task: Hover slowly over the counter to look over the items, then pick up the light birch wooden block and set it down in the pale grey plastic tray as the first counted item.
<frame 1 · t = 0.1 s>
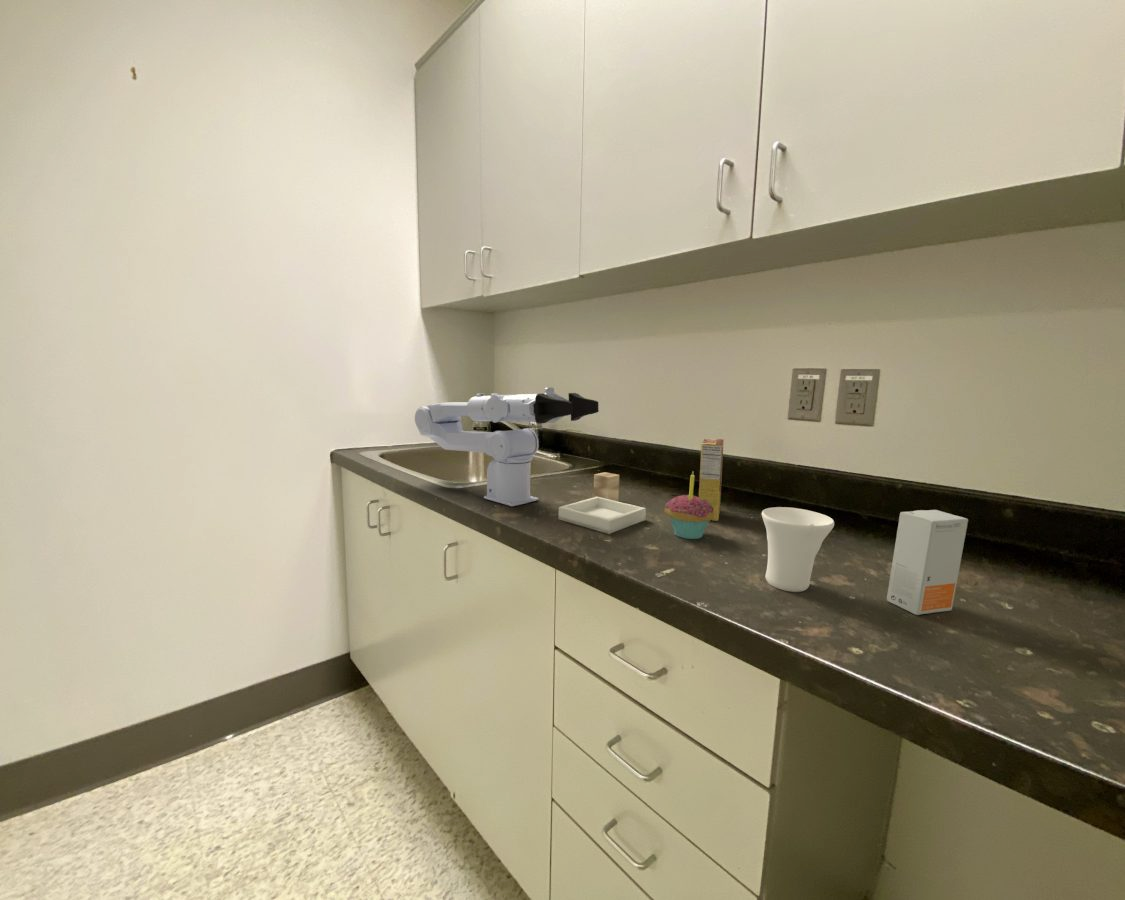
hand: (584, 407, 90), 22 cm above the worktop, tool horizontal, fingers open, 7 cm apart
cupcake: (687, 535, 86), on the worktop
candy box: (708, 515, 99), on the worktop
skincare box: (919, 607, 61), on the worktop
tray: (602, 519, 93), on the worktop
cup: (789, 585, 66), on the worktop
wooden block: (605, 501, 108), on the worktop
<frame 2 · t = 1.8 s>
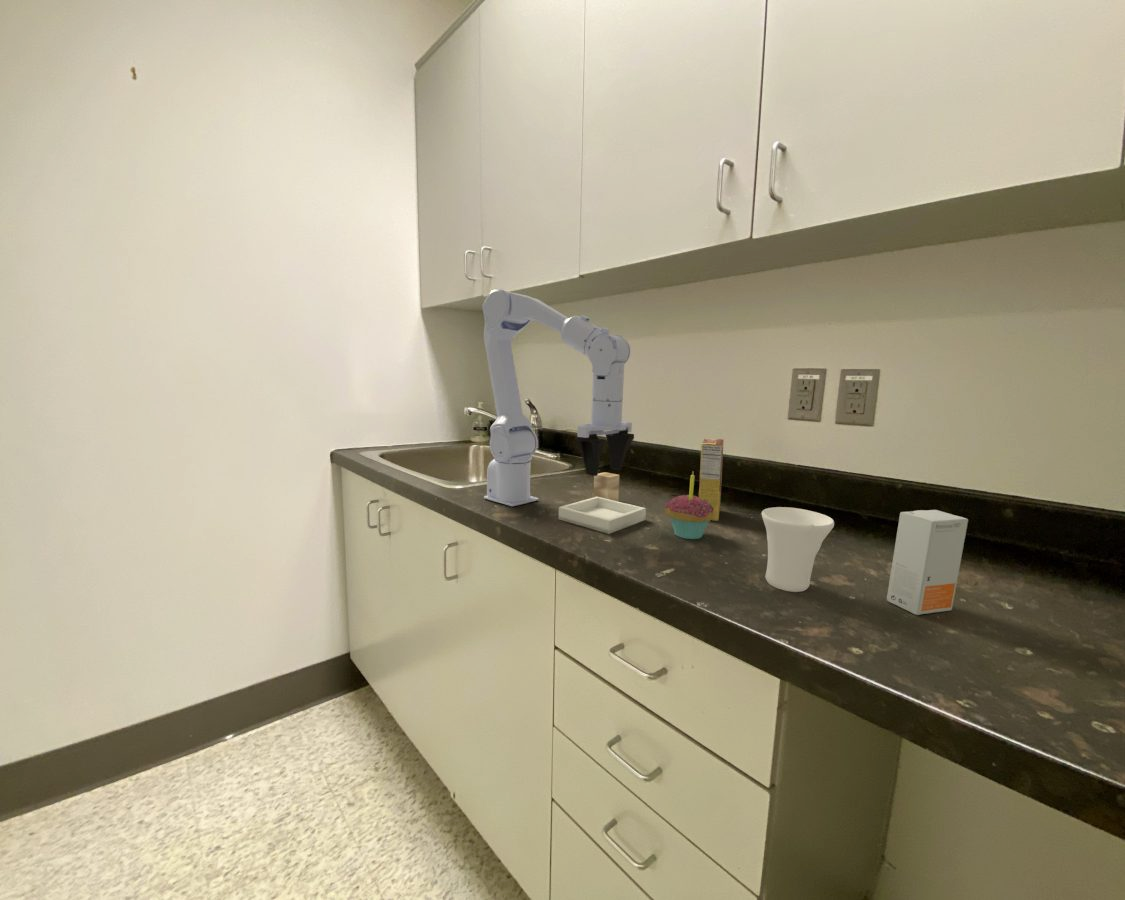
hand: (604, 472, 92), 9 cm above the worktop, tool pointing down, fingers open, 7 cm apart
nothing on the worktop moved.
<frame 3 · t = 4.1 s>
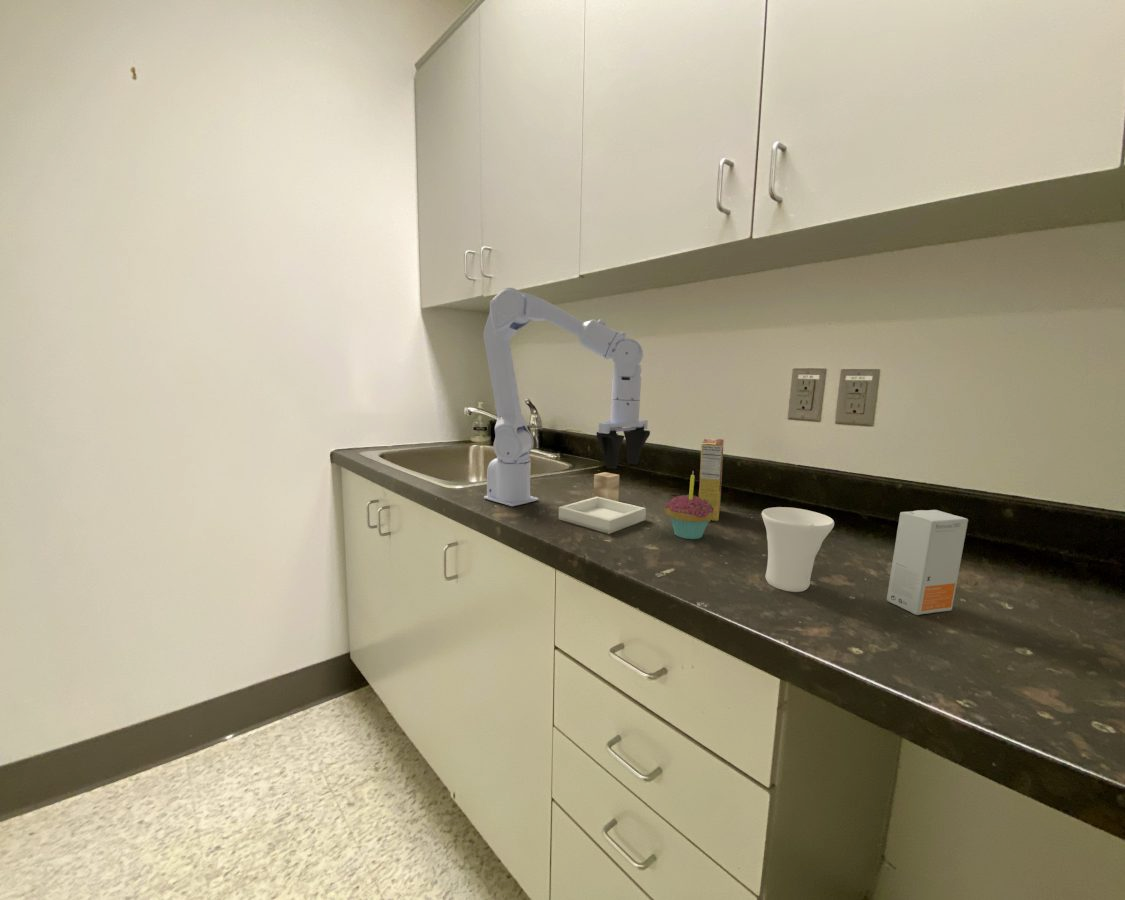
hand: (622, 465, 99), 9 cm above the worktop, tool pointing down, fingers open, 7 cm apart
nothing on the worktop moved.
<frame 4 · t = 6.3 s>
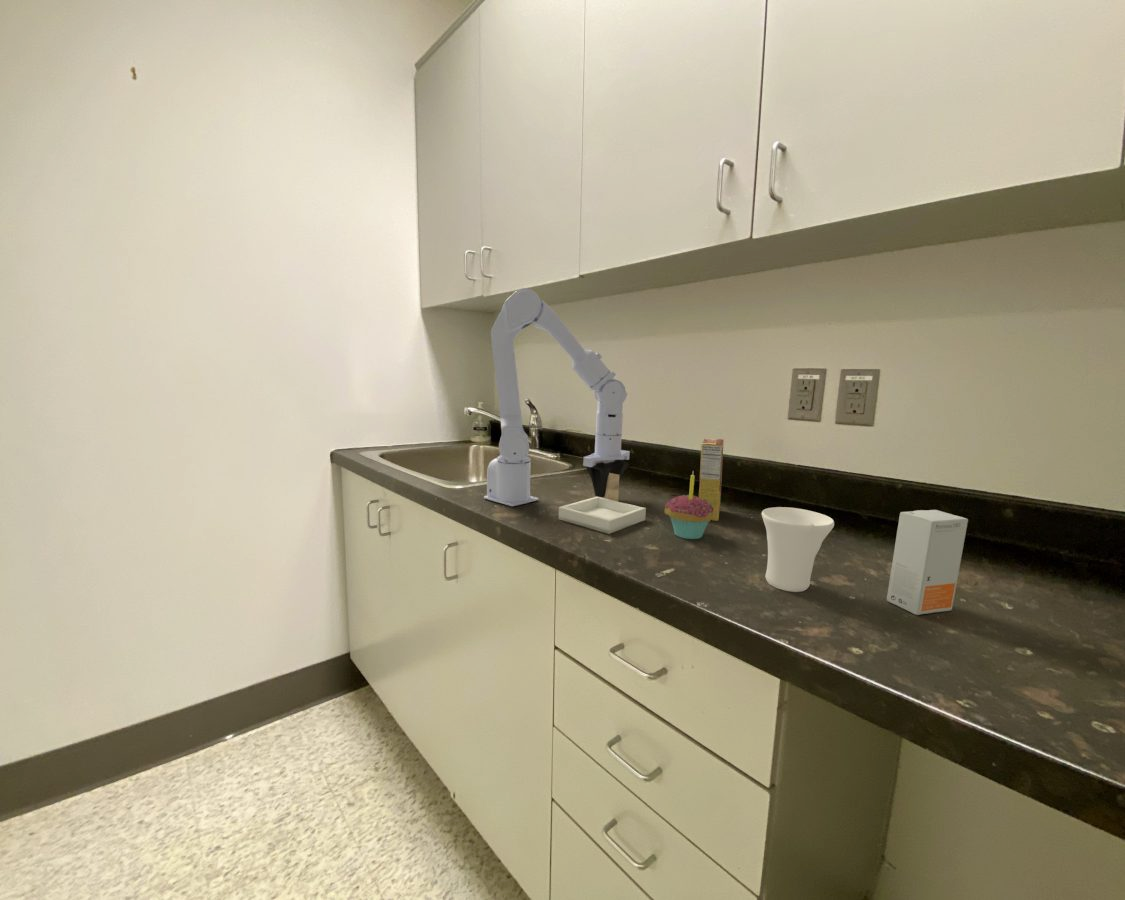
hand: (605, 494, 107), 1 cm above the worktop, tool pointing down, fingers closed on wooden block, 4 cm apart
wooden block: (605, 500, 108), on the worktop, touching gripper
everything else where it was.
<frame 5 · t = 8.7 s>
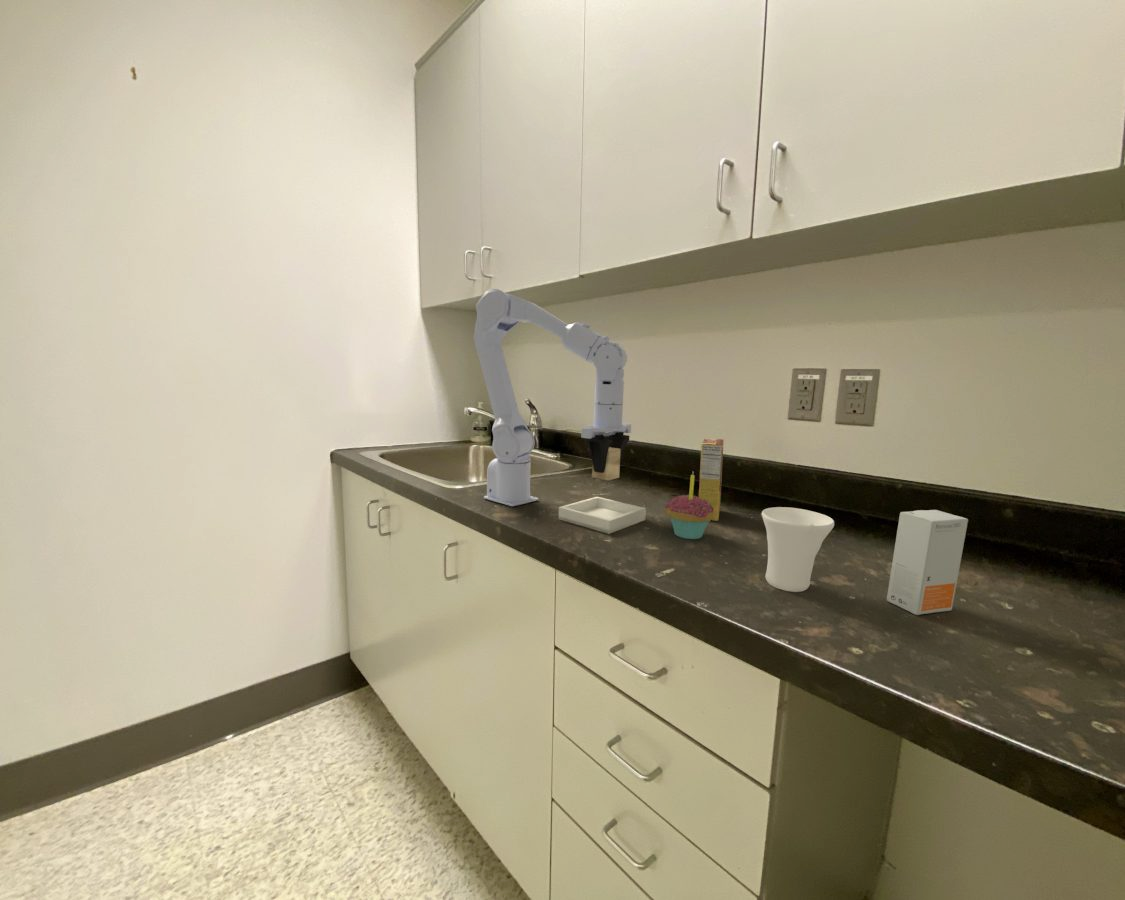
hand: (605, 470, 99), 8 cm above the worktop, tool pointing down, fingers closed on wooden block, 4 cm apart
wooden block: (605, 477, 99), point 7 cm above the worktop, touching gripper
everything else where it was.
when the fingers open (3 cm above the worktop, at t = 11.1 s): wooden block stays where it is, resting on tray.
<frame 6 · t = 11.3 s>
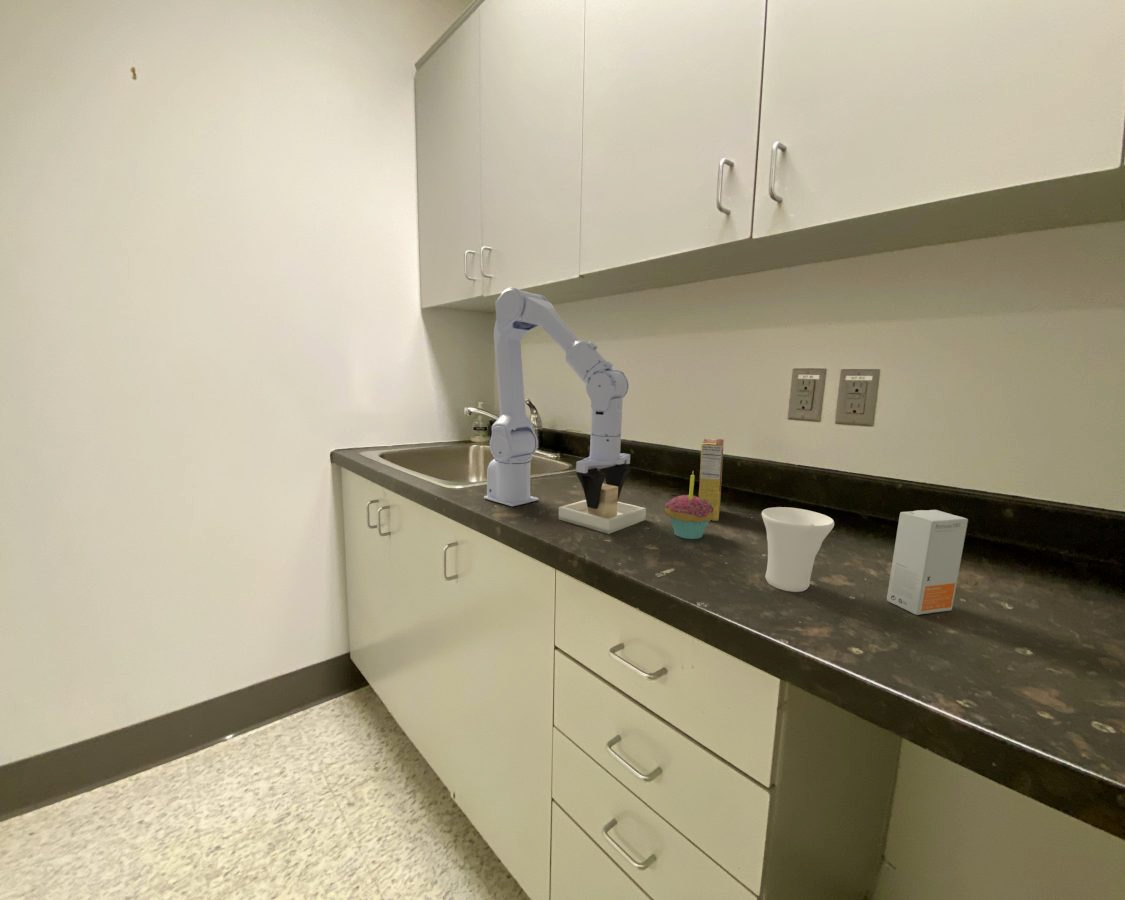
hand: (602, 504, 93), 3 cm above the worktop, tool pointing down, fingers open, 6 cm apart
wooden block: (602, 516, 93), point 1 cm above the worktop, touching tray
everything else where it was.
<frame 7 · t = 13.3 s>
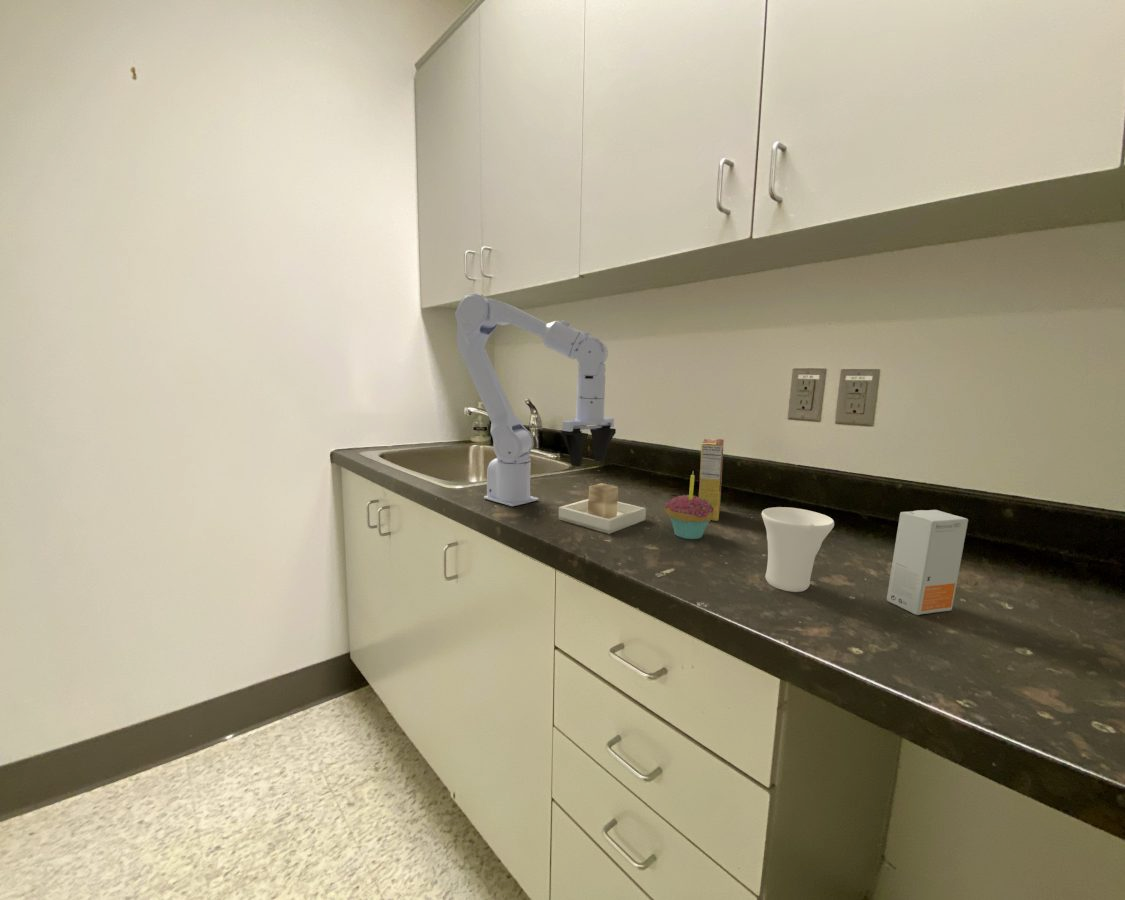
hand: (587, 463, 101), 9 cm above the worktop, tool pointing down, fingers open, 7 cm apart
nothing on the worktop moved.
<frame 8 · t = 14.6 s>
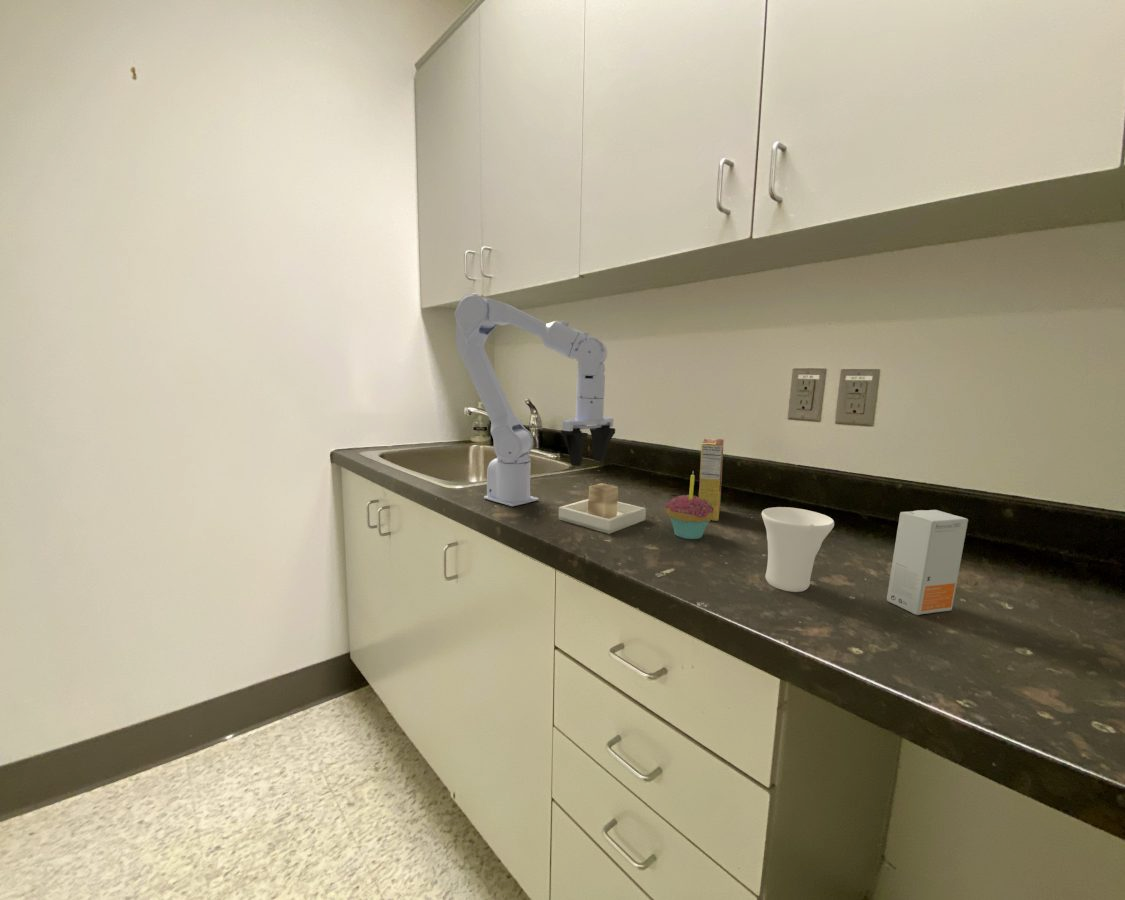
hand: (587, 463, 101), 9 cm above the worktop, tool pointing down, fingers open, 7 cm apart
nothing on the worktop moved.
at the end: wooden block inside the target area on the tray (0.0 cm from its centre), point 0.6 cm above the tray's base; wooden block tilted 0°; the gripper is holding nothing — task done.
